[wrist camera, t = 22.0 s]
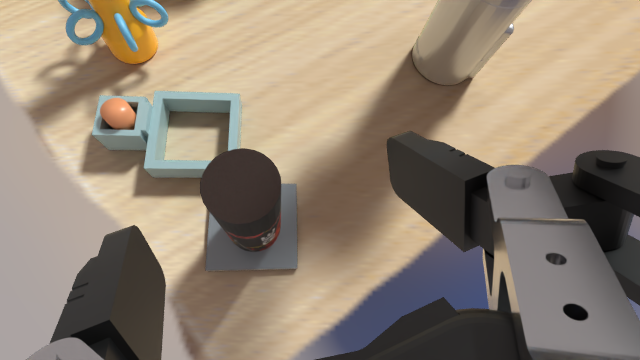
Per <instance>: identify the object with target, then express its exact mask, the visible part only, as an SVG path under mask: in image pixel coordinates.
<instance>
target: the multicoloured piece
mask: <svg viewBox="0 0 640 360" xmlns="http://www.w3.org/2000/svg"><path fill="white" fill-rule="evenodd" d="M58 1H59V3H60V4H61V5H62V6H63V7H64V8H65V9H66V10H68V11H69V12H71V13H73V14H72V15H71V16H70V17H69V18H68V20H67V23H66V33H67V35H68V37H69V38H70V39H71V40H72V41H73V42H74V43H76V44H79V45H90V44H93V43H94V42H96V41H97V40H98V39H99V38H100V37H102V39H103V40H104V41H105V43H106V44H107V46H108V47H109V49H110V50H111V52H112V53H113V55H114V56H115V57H116V58H117V59H119V60H120V61H122V62H125V63H129V64H137V63H142V62H145V61H147V60H149V59H150V58H151V57H152V56H153V55H154V54H155V53H156V51H157V48H158V40H157V38H156V35H155V33H154V31H153V29H152V27H162V26H164V25H166V24H167V22H168V14H167V12H166V11H165V9H164V8H163V7H162V6H161V5H160V4H159V3H157V2H156V1H154V0H84V1H86V2H87V3H88V4H89V5H90V6H91V8H92V10H90V9H81V10H79V9H77V8H75V7H73V6H72V5H70V4H69V3H68V2H67V1H66V0H58ZM144 5H148V6H150V7H152V8H154V9H155V10H157V11H158V12H159V13H160V15H161V19H160V20H156V21H155V20H150V19H148V18H147V16H146V15H145V14H144V12H143V11H141V10H140V9H139V8H137V7H141V6H144ZM81 18H88V19H91V18H93V19H94V20H95V22H96V29H95V31H94V33H93V34H92V35H91V36H89V37H87V38H79V37H78V36H76V34H75V31H74V28H75V25H76V23H77V22H78V20H80V19H81Z"/></svg>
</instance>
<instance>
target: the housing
mask: <svg viewBox="0 0 640 360" xmlns="http://www.w3.org/2000/svg"><path fill="white" fill-rule="evenodd" d="M112 98H121V99H124V100H125V101H126V102H127V103H128V104H129V105H130V107H131V108H132V109H133V111H134V112H135V113H136V122H135V128H134V130H114V129H113V128H112V127H111V126H110V125H109V124H108V123H107V122H106V121H105V120H104V119H103V118H102V116H101V114H100V108H101V106H102V104H103V103H104V102H105V101H107V100H109V99H112ZM170 111H178V112H215V113H230V124H229V141H228V151H230V150H233V149H240V139H241V118H242V104H241V99H240V94H233V93H203V92H173V91H155V93H154V100H153V107H152V105H151V104H150V102H149V101H148V99H147V98H146V97H133V96H101V95H100V97H99V102H98V107H97V112H96V117H95V122H94V127H93V132H92V135H93V136H94V137H95V138H96V139H97V140H98V141H99V142H100V143H102V144H103V145H104V146H105V147H106V148H107V149H108V150H146V156H145V163H144V169H145V170H146V171H147V172H148V173H149V174H150V175H151V176H152V177H155V178H202V175H203V172H204V171H205V169H206V167H207V166H208V164H209V163H210V162H211V161H187V160H164V155H165V147H166V139H167V131H168V123H169V115H170Z"/></svg>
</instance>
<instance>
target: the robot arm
mask: <svg viewBox="0 0 640 360" xmlns="http://www.w3.org/2000/svg"><path fill="white" fill-rule="evenodd" d="M530 2H531V0H438V1H437V3H436V5H435V7H434V9H433V11H432V13H431V15H430V17H429V18H428V20H427V22H426V24H425V26H424V28H423V30H422V32H421V34H420V36H419V37H418V39H417V41H416V43H415V45H414V47H413V51H412V58H413V62H414V64H415V66H416V68H417V70H418V71H419V72H420V73H421V74H422V75H423V76H424V77H425V78H427V79H428V80H430V81H432V82H434V83H437V84H441V85H454V84H458V83H460V82H462V81H463V80H465V79H466V78H474V77H475V75H476V74H477V73H478V72H479V71H480V70H481V68H482V67H483V66H484V65H485V64H486V63H487V62H488V60H489V59H490V58H491V57H492V56H493V55H494V53H495V52H496V51H497V50H498V49H499V48H500V47H501V45H502V44H503V43H504V42H505V41H506V40H507V38H508V37H509V36H510V35H511V34H512V33H513V31H514V27H513V22H514V21H515V20H516V18H517V17H518V16H519V15H520V14H521V12H522V11H523V10H524V9H525V8H526V6H527V5H528V4H529V3H530ZM387 153H388V162H389V171H390V180H391V184H392V187H393V189H394V191H395V193H396V194H397V195H398V197H400V198H401V199H402V200H403V201H404V202H405V203H407V204H408V205H409V206H410V207H411V208H413V209H414V210H415V211H416V212H417V213H418V214H420V215H421V216H422V217H423V218H424V219H425V220H427V221H428V222H429V223H430V224H431V225H433V226H434V227H435V228H436V229H437V230H438V231H440V232H441V233H442V234H443V235H444V236H446V237H447V238H448V239H449V240H450V241H451V242H453V243H454V244H455V245H456V246H457V247H458V248H460V249H461V250H462V251H463V252H466V251H468V250H470V249H472V248H474V247H477V246H479V245H480V246H481V247H482V248H483V263H484V272H485V280H486V288H487V296H488V304H489V309H474V308H473V309H472V308H471V309H459V310H455V309H454V308H453V307H452V306H451V305H450V304H449V303H448V302H447V301H446V299H445V298H444V297H443V298H441V299H439V300H437V301H434V302H432V303H430V304H428V305H426V306H424V307H422V308H419V309H418V310H415V311H413V312H411V313H409V314H407V315H404V316H402V317H401V318H400V319H399V320H397V321H396V322H395V323H394V324H393V325H391V326H390V327H389V328H388V329H387V330H385V331H384V332H383V333H382V334H381V335H379V336H378V337H377V338H376V339H375V340H373V341H372V342H371V343H370V344H369V345H368V346H366V347H365V348H363V349H361V350H359V351H355V352H350V353H345V354H340V355H335V356H330V357H325V358H321V359H316V360H640V321H639V319H638V317H637V315H636V313H635V311H634V309H633V307H632V306H631V304H630V302H629V300H628V298H629V299H631V300H633V301H634V302H635V303H637V304H638V305H640V241H639V240H637V239H635V238H634V237H631V236H630V235H628V231H629V228H630V225H631V222H632V218H633V216H634V215H637V216H639V217H640V157H637V156H634V155H631V154H628V153H623V152H618V151H609V150H598V151H590V152H586V153H583V154H580V155H579V156H578V157H577V158H576V160H575V165H574V170H573V173H567V174H561V175H555V176H548V175H547V174H546V173H544V172H543V171H541V170H539V169H536V168H533V167H529V166H524V165H506V166H501V167H497V168H494V167H492V166H490V165H488V164H486V163H484V162H482V161H480V160H478V159H476V158H474V157H472V156H470V155H468V154H467V155H465V153H464V152H462V151H460V150H458V149H457V150H456V149H455V148H454V147H452V146H450V145H448V144H445V143H443V142H438V141H433V140H427V139H425V138H423V137H421V136H419V135H417V134H416V133H414V132H411V131H408V132H405V133H402V134H399V135H397V136H394V137H391V138H389V139H388V140H387ZM165 288H166V283H165V277H164V274H163V271H162V268H161V266H160V264H159V262H158V261H157V259H156V257H155V255H154V254H153V252H152V250H151V248H150V247H149V245H148V243H147V241H146V240H145V238H144V236H143V234H142V233H141V231H140V230H139V228H138V227H137V226H135V225H133V226H130V227H127V228H124V229H122V230H119V231H116V232H113V233H110V234H107V235H106V236H105V237H104V240H103V242H102V245H101V248H100V251H99V254H98V256H97V257H94V258H91V259H90V260H89V261H88V262H87V264H86V265H85V266H84V267H83V268H82V269H81V271H80V272H79V273H78V274H77V277H76V279H75V282H74V284H73V287H72V291H71V292H70V294H69V297H68V299H67V304H65V307H64V309H63V312H62V314H61V317H60V319H59V322H58V324H57V326H56V329H55V332H54V334H53V336H52V339H51V341H50V344H49V345H47V346H45V347H43V348H41V349H40V350H38V351H37V352H35V353H34V354H33V355H31V356H30V357H29V358H28V359H26V360H161V352H162V335H163V321H164V304H165ZM627 297H628V298H627Z"/></svg>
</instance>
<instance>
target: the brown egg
mask: <svg viewBox="0 0 640 360" xmlns="http://www.w3.org/2000/svg"><path fill="white" fill-rule="evenodd" d="M100 114H101V116H102V118H103V119H104V120H105V121H106V122H107V123H108V124H109V125H110V126H111V127H112V128H113V129H114V130H134V128H135V122H136V113H135V112H134V111H133V109H132V108H131V107H130V105H129V104H128V103H127V102H126V101H125V100H124V99H121V98H112V99H109V100H107V101H105V102H104V103H103V104H102V106H101V108H100Z"/></svg>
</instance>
